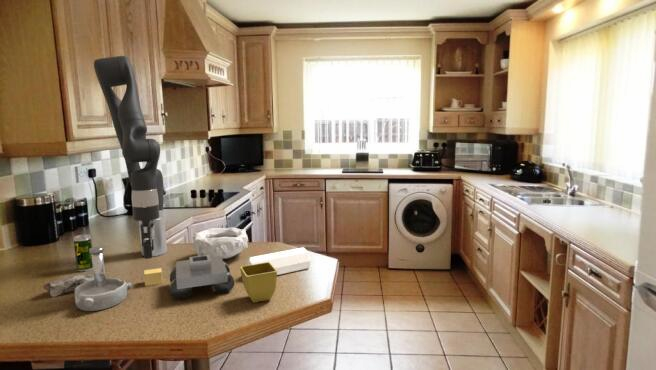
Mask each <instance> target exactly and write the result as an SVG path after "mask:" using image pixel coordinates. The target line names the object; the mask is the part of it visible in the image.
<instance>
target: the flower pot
mask: <svg viewBox="0 0 656 370" xmlns="http://www.w3.org/2000/svg"><path fill="white" fill-rule="evenodd" d="M239 269H240V274H241V280H242V285H243V287H244V289H245V292H246V293H247V295H248V297H249V298H250V300H251V302H252V303H254V304H255V303H259V301H260V302H264V301H269V300H271V299H272V297H273V296H274V294H275V291H276V288H277V279H278V275H277V270H276V269H275V268H274V267H273V266H272V265H271V263H269V262H265V263H259V264H254V265H247V266H245V265H242V266H240V267H239Z"/></svg>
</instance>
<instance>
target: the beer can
mask: <svg viewBox="0 0 656 370" xmlns="http://www.w3.org/2000/svg"><path fill="white" fill-rule="evenodd" d="M92 247H93V243H92V236H91V234H88V233H87V234H79V235H75V236H74V237H73V248H74V249H73V250H74V256H75V263H76V264H75V266H76V270H77V272H79V271H80V272H81V273H84V272H83V271H85V272H89V271H92V270H93V264H92V255H91V253H90V252H89V249H90V248H92ZM88 270H89V271H88Z"/></svg>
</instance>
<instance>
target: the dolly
mask: <svg viewBox="0 0 656 370" xmlns="http://www.w3.org/2000/svg"><path fill="white" fill-rule="evenodd" d="M169 282H170V284H169V294H170V296H171V298H173V299H174V300H176V301H184V300H186V299H188V298H189V297H190V296H191V294H192V292H193V288H195V287H196V288H197V287H202V286H210V285H212V286H213V289H214V290H215V292H217V293H218V294H222V293H224V294H228V293H229V292H231V291H232V290H233V288H234V287H235V279H234V277H233V275H232V273H231V270H230V267H229V265H228V263H227V262H226V261H224V259H222V257H221V256H216V257H210V256H209V255H201V256H198V255H195V256H189V259H186V260H178V261H175V267H174V268H173V269H171V270H170V273H169Z"/></svg>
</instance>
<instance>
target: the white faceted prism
mask: <svg viewBox="0 0 656 370" xmlns="http://www.w3.org/2000/svg"><path fill="white" fill-rule="evenodd" d="M265 262H269V263H271V265H272V266H273V267H274V268H275V269H276V270H277V276H278V275H279V276H280V275H284V274H287V273H292V272H298V271H300V270H301V271H302V270H306V269H310V266H311V255H310V253H309V251H308V250H307V249H306V248H305V247H298V248H292V249H287V250H283V251H281V250H280V251H276V252H275V251H274V252H271V253H266V254H261V255H260V254H259V255H255V256H249V257H248V258H247V260H246V262H245V265H244V266H247V265H254V264H259V263H265ZM298 263H299V264H298Z"/></svg>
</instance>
